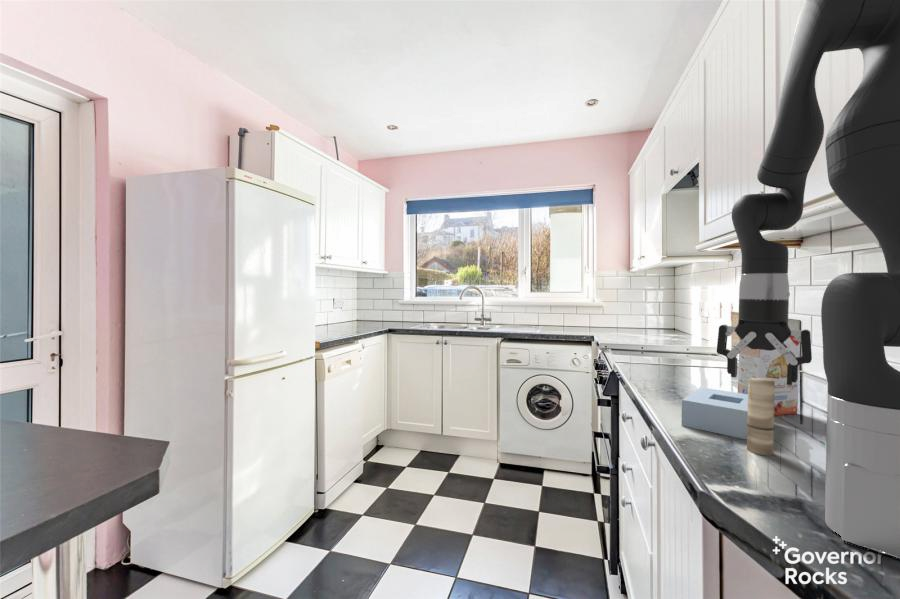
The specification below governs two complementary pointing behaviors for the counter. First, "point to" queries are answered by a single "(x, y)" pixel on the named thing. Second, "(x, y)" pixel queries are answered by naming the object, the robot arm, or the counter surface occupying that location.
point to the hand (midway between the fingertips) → (760, 380)
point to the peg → (760, 416)
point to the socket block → (716, 412)
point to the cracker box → (771, 374)
